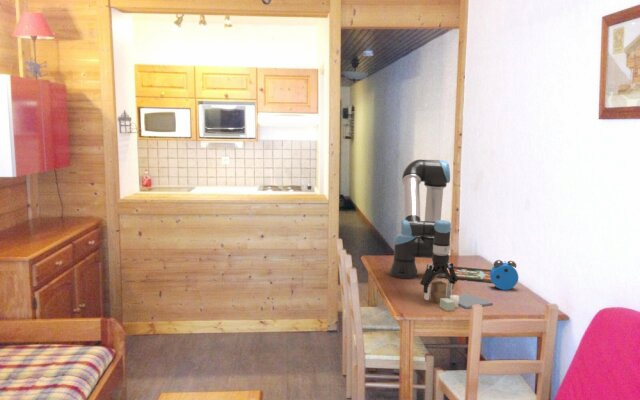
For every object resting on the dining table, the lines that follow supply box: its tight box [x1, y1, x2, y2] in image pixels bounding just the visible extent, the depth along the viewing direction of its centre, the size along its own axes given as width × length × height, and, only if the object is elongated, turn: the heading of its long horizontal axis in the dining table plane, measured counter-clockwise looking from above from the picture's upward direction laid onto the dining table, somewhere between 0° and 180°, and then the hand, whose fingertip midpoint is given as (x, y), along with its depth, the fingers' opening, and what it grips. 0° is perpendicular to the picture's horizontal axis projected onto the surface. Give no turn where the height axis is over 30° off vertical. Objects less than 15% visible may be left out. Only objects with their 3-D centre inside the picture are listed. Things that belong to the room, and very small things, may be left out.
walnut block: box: [429, 280, 448, 304], centre depth 252 cm, size 5×5×9 cm
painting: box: [436, 265, 493, 284], centre depth 303 cm, size 28×35×2 cm
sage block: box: [439, 298, 456, 312], centre depth 243 cm, size 6×4×4 cm, turn 19°
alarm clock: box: [490, 259, 519, 291], centre depth 277 cm, size 13×6×15 cm, turn 85°
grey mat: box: [446, 292, 494, 310], centre depth 254 cm, size 16×16×1 cm
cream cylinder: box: [450, 294, 460, 309], centre depth 246 cm, size 4×4×5 cm
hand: (438, 297), depth 253 cm, fingers open, 13 cm apart
